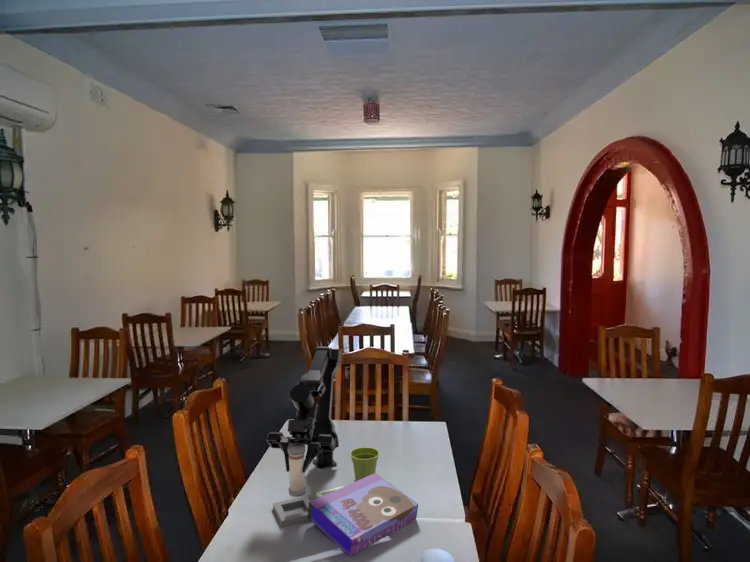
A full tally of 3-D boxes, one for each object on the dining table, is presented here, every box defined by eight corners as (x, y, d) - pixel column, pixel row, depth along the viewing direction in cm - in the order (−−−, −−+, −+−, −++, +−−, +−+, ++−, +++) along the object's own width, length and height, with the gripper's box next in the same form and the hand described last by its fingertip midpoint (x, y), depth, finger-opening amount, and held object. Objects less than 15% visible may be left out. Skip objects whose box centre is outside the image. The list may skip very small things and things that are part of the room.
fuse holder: (273, 511, 148) (273, 503, 148) (307, 503, 152) (307, 495, 152) (281, 530, 139) (281, 521, 139) (318, 521, 143) (317, 512, 143)
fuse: (286, 490, 147) (285, 445, 145) (303, 486, 149) (302, 442, 147) (291, 498, 142) (290, 452, 141) (308, 494, 144) (307, 448, 143)
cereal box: (418, 504, 143) (351, 540, 127) (416, 519, 144) (349, 557, 128) (374, 472, 155) (308, 502, 139) (373, 487, 156) (307, 518, 140)
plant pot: (345, 475, 170) (345, 449, 169) (372, 470, 173) (372, 444, 172) (356, 488, 161) (356, 461, 160) (384, 482, 165) (384, 456, 164)
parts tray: (316, 500, 154) (316, 492, 154) (348, 492, 159) (348, 485, 158) (327, 516, 145) (327, 508, 145) (360, 508, 149) (360, 500, 149)
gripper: (267, 404, 148) (254, 459, 138) (332, 407, 146) (323, 463, 136) (277, 421, 157) (265, 473, 147) (338, 423, 154) (330, 477, 145)
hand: (295, 471), depth 143 cm, fingers closed on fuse, 4 cm apart
